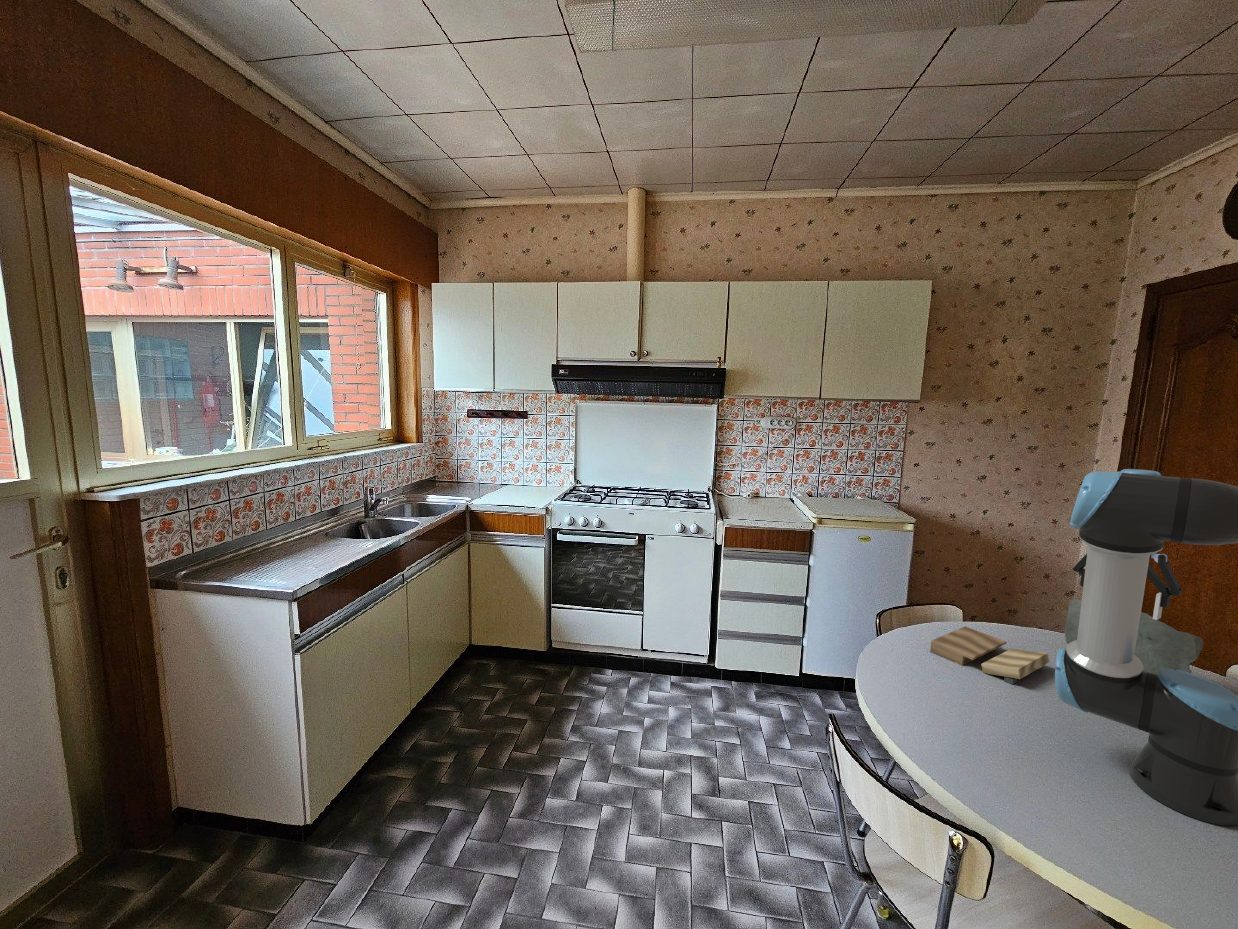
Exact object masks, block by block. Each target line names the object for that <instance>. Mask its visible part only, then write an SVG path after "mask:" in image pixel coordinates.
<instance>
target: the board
mask: <svg viewBox="0 0 1238 929" xmlns="http://www.w3.org/2000/svg"><path fill="white" fill-rule="evenodd" d="M1004 645H1007V640H1005V639H1001V638H998V637H997V636H996V637H995V636H994V635H990V634H987V633H984V632H982V631H980V630H976V629H974V628H972V627H968V626H963V627H960V628H957V629H956V630H954V631H951V632H948V633H946V634H944V635H942V636H939V637H936V638H934V639H932V640H931V641H930V650H929V653H931V654H934V655H937V656H939V657H941V656H942V657H941V658H943V657H944V658H943V659H946V660H947V661H951V662H953V663H955V662H957V663H958V665H960V666H964V665H966V664H968V663H970V662H972V661H974V660H976V659H978V658H980V657H982V656H984V655H986V654H989V653H990V652H992V651H995V650H996V649H998V648H1000V647H1002V646H1004ZM967 662H968V663H967ZM957 663H956V664H957ZM965 663H966V664H965Z"/></svg>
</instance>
